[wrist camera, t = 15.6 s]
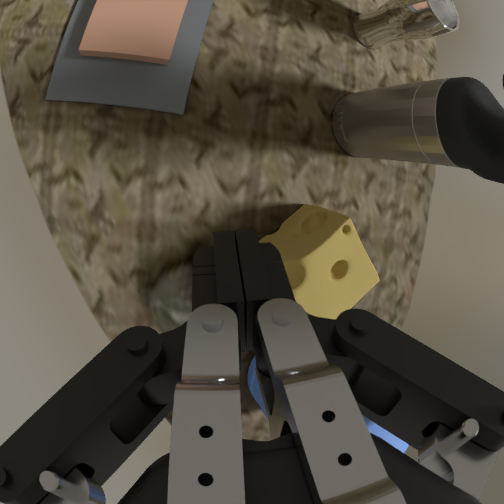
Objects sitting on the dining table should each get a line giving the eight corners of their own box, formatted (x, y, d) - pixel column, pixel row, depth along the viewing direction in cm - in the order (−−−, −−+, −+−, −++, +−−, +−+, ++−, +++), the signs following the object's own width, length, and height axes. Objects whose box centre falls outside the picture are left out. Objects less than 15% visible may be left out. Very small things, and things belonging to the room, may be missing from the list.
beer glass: (381, 18, 36) (453, -6, 22) (387, 55, 38) (464, 39, 25) (347, 7, 34) (419, -27, 20) (352, 47, 36) (432, 21, 22)
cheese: (241, 251, 39) (274, 280, 30) (307, 198, 40) (354, 211, 31) (283, 306, 43) (320, 342, 34) (340, 256, 45) (386, 280, 36)
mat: (221, -24, 27) (222, -26, 27) (182, 114, 32) (183, 114, 31) (99, -41, 21) (99, -43, 21) (46, 100, 26) (45, 99, 25)
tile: (167, 65, 29) (197, -28, 26) (169, 59, 27) (201, -37, 24) (81, 56, 25) (119, -38, 22) (78, 49, 23) (119, -48, 20)
